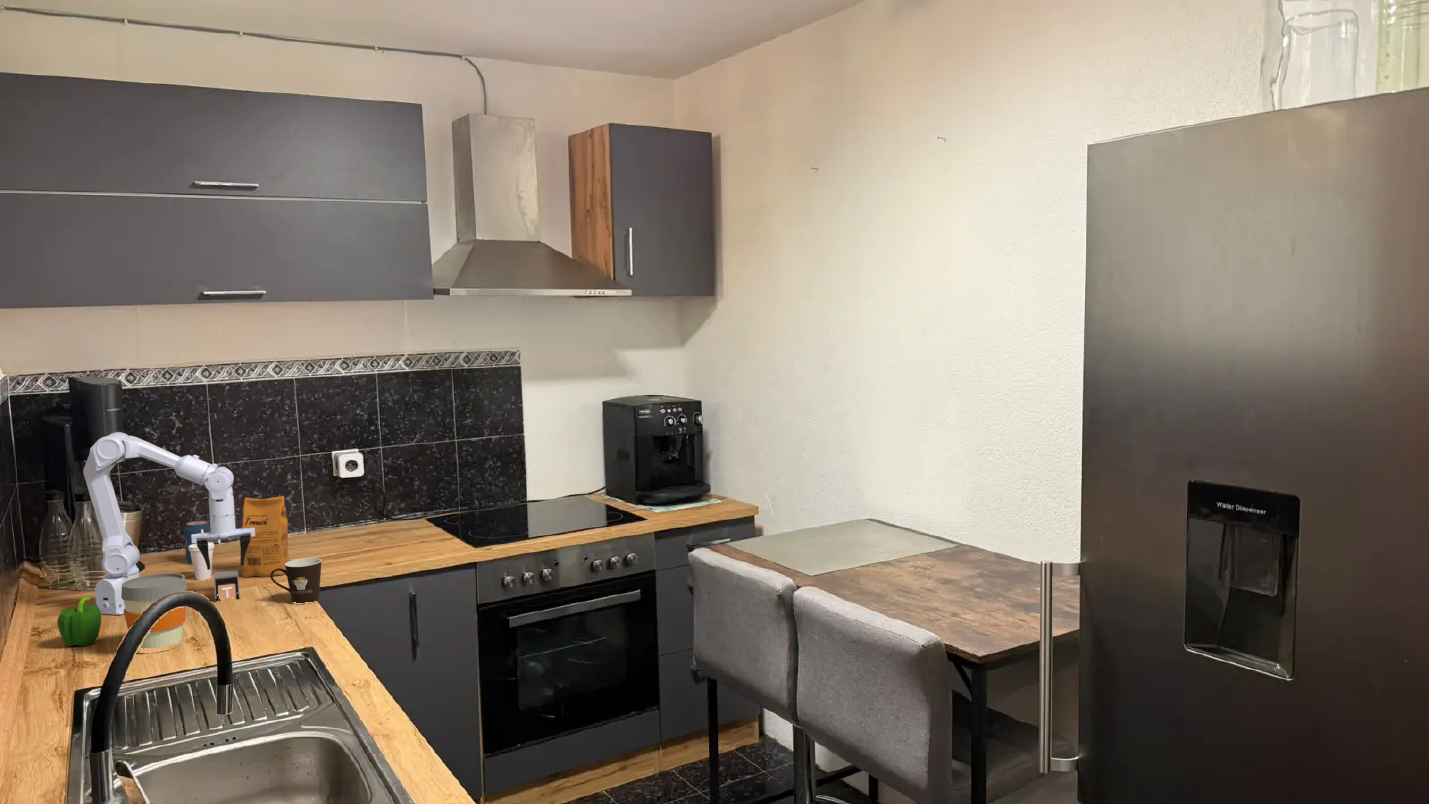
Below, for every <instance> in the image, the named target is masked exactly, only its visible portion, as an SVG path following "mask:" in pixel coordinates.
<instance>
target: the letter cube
mask: <svg viewBox="0 0 1429 804" xmlns="http://www.w3.org/2000/svg"><path fill="white" fill-rule="evenodd" d="M218 594H219V597H218V600H219V599H223V598H229V597H236V598H237V594H236V586H235V580H234V581H226V582H219V583H218Z"/></svg>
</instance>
